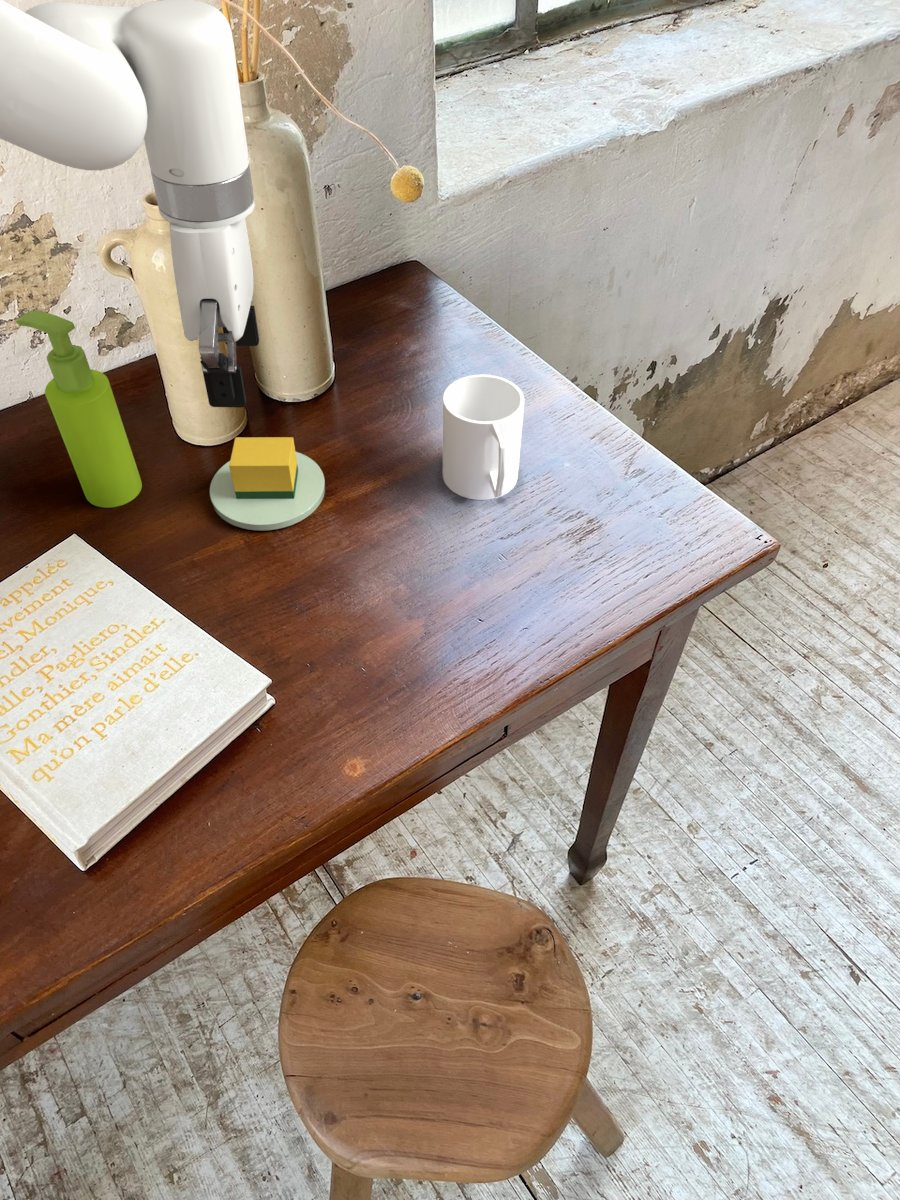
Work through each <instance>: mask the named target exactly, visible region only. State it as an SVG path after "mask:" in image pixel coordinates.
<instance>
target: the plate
mask: <svg viewBox="0 0 900 1200" xmlns="http://www.w3.org/2000/svg"><path fill="white" fill-rule="evenodd" d="M295 452H296V459H297V465H298V475H297V483H296V490H295V497H294V498H292V499H237V498H236V494H235V490H234V485H233V481H232V476H231V472H230V468H229V464H230V460H229V461H227V462H226V463H225V464H223V465H222V466H221V467H220V468H219V469H218V470H217V471H216V473H215V474H214V476H213V477H212V480H211V482H210V484H209V498H210V501H211V506H212V508H213V510H214V512H215V513H216V514H217V515H218V516H219V518H221V519H222V520H224V521H225V522H226V523H227V524H230V525H232V526H234V527H237V528H240V529H244V530H250V531H259V532H260V531H261V532H262V531H273V530H274V531H275V530H279V529H284V528H288V527H290V526H293V525H295V524H298V523H300V522H302V521H304V520H305V519H307V518H308V517H310V516H311V515H312V514H313V513H314V512H315V511H316V510H317V509H318V507H320V505H321V503H322V502H323V500H324V498H325V494H326V481H325V475H324V472H323V470H322V469H321V468H320V466H319V465H318V463H317V462H316V461H315V460H313V459H312V458H311V457H310V456H307V455H306V454H303V453H301V452H298V451H295Z"/></svg>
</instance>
